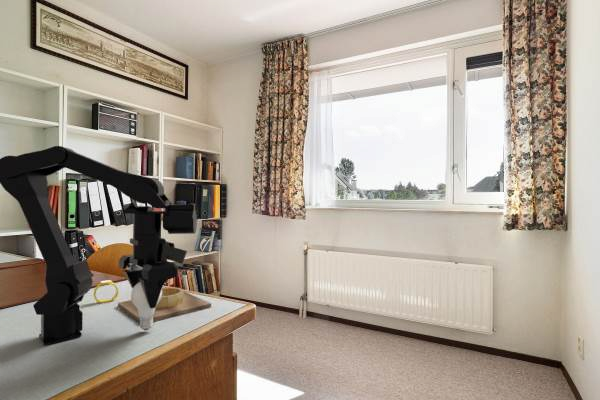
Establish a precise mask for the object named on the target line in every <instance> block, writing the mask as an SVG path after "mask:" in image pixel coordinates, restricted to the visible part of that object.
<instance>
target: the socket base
mask: <svg viewBox="0 0 600 400" xmlns="http://www.w3.org/2000/svg"><path fill="white" fill-rule="evenodd" d="M117 307H118V308H120V310H122V311H123V312H125V313H126V314H128V315H129V316H130V317H132V318H133V319H134V320H136V321H137V322H139V323H140V316H139V314H138V310H137V308H136V307H135V306H134V304H133V303H132V300H131V299H130V300H126V301H121V302H117ZM211 307H212V303H211V302H209V301H207V300H204V299H203V298H200V297H197V296H195V295H194V294H191V293H188V292H186V291H184V301H183V303H182V304H180V305H178V306H175V307H171V308H166V309H155V313H154V315H153V323H154V322H156V321H157V322H158V321H162V320H165V319H169V318H174V317H178V316H181V315H185V314H189V313H194V312H198V311H201V310H205V309H209V308H211Z"/></svg>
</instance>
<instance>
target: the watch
mask: <svg viewBox="0 0 600 400" xmlns="http://www.w3.org/2000/svg"><path fill="white" fill-rule="evenodd" d="M107 285H112V286H114V288H115V291H116V292H115V295H114V296H113V297H112V298H110V299H105V300H104V299H103V300H101V299H98V298H97V296H96V295H97V290H98V289H99V288H100V287H101V286H107ZM118 295H119V287H118V286H117V285H116V283H114V282H113V281H112V280H111V279H107V280H101V281H100V283H99V284H97V285H96V286H95V288H94V289H93V297H94V299H95V301H96V302H97V303H99V304H104V303H109V302H113V301H114V300H115V299H117V297H118Z"/></svg>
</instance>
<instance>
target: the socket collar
mask: <svg viewBox="0 0 600 400" xmlns="http://www.w3.org/2000/svg"><path fill="white" fill-rule="evenodd" d="M184 292H185V290H184V289H182V288H180V287H173V286H171V287H169V286H168V287H162V297H161V300H160V302H159V303H158V305H157V306H156V308H155V309H166V308H171V307H175V306H178V305H180V304H182V303H183V301H184Z"/></svg>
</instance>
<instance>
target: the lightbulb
mask: <svg viewBox="0 0 600 400" xmlns="http://www.w3.org/2000/svg"><path fill="white" fill-rule="evenodd" d="M130 292H131V293H130V300H132V303H133V304H134V306H135V307H136V308H137V310H138V314H139V316H140V322H139V328H140V329H142V330H143V331H148V330H149V329H151V328H153V327H154V322H153V315H154V313H155V308H156V307H155V308H152V309H151V308H150V307H149V305H148V302H147V299H146V297H145V294H144V291H143V288H142V285H141V282H138V283H137V284H136V285H135V286H134V287H133V289H132V288H131V291H130ZM161 297H162V289H161V292H160V295H159V298H158V301H157V304H156V306H157V305H158V303H159V302H160V300H161Z"/></svg>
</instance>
